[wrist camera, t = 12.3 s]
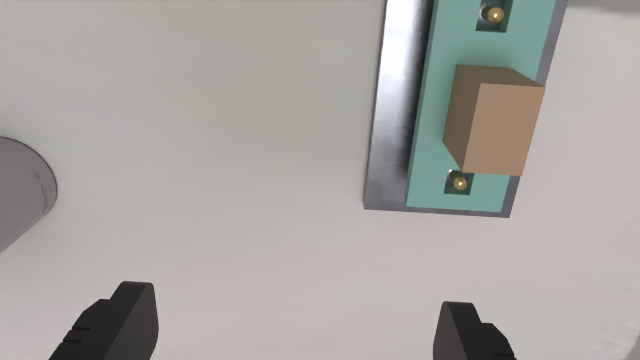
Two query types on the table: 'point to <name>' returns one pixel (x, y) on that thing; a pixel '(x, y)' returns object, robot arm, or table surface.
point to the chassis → (403, 97)
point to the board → (437, 86)
